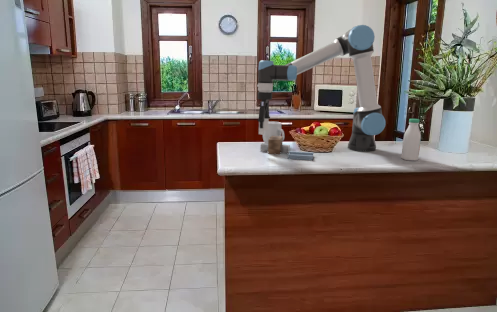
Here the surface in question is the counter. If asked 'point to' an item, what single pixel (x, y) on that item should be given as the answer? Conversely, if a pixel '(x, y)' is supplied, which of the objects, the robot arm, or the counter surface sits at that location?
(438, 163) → the counter surface
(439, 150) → the counter surface
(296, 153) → the cradle
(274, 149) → the bearing block
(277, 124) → the mug
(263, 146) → the shaft
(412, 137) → the milk bottle
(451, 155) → the counter surface
